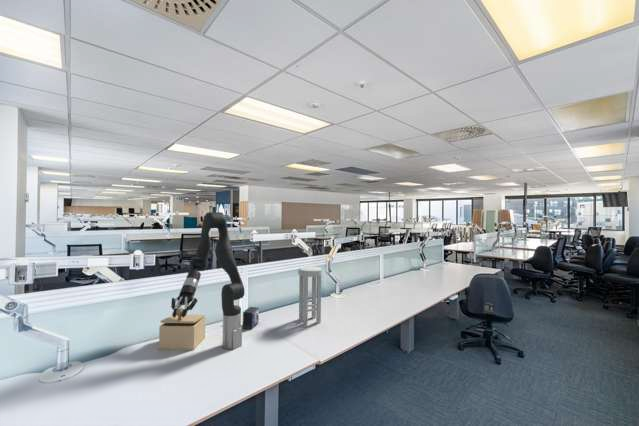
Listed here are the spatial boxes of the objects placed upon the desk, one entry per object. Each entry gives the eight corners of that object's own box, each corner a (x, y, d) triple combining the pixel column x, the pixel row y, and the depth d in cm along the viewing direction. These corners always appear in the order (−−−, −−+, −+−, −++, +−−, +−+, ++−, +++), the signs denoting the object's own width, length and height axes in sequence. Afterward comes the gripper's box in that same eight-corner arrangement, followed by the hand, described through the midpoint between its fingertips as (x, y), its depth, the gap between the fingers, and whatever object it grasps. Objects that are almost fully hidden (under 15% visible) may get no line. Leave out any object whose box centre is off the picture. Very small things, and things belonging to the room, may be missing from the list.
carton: (173, 337, 157) (173, 316, 157) (204, 338, 157) (205, 316, 157) (159, 349, 143) (159, 326, 143) (193, 349, 143) (194, 326, 143)
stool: (324, 323, 181) (325, 269, 181) (302, 326, 175) (302, 271, 176) (316, 315, 195) (316, 265, 196) (295, 318, 190) (295, 267, 190)
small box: (251, 329, 169) (252, 312, 170) (242, 328, 171) (242, 311, 171) (259, 323, 180) (259, 307, 180) (249, 322, 181) (250, 306, 181)
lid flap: (174, 316, 157) (175, 303, 158) (204, 316, 157) (205, 304, 158) (160, 322, 143) (161, 309, 144) (193, 323, 143) (194, 309, 144)
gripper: (174, 284, 154) (161, 313, 142) (200, 284, 154) (189, 313, 142) (179, 291, 160) (167, 320, 147) (203, 291, 160) (194, 320, 147)
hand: (178, 316), depth 145 cm, fingers closed on lid flap, 4 cm apart
